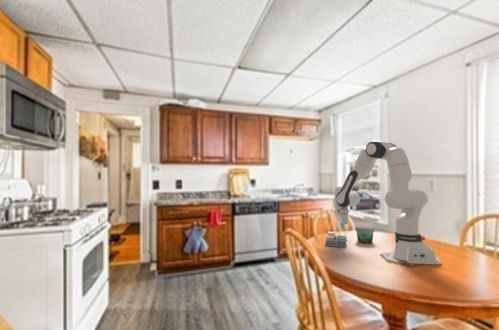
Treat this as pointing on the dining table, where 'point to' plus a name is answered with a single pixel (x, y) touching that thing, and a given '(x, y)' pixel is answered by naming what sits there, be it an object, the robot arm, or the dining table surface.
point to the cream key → (331, 234)
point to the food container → (365, 235)
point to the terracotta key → (330, 238)
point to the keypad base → (336, 243)
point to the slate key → (341, 239)
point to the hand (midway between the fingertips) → (342, 228)
